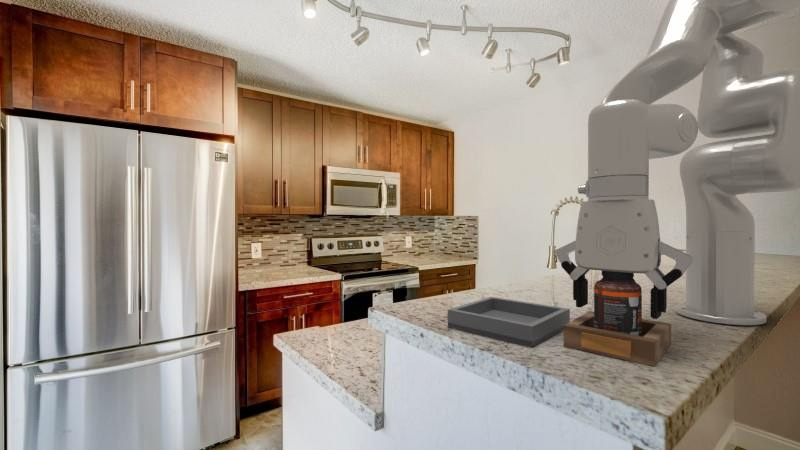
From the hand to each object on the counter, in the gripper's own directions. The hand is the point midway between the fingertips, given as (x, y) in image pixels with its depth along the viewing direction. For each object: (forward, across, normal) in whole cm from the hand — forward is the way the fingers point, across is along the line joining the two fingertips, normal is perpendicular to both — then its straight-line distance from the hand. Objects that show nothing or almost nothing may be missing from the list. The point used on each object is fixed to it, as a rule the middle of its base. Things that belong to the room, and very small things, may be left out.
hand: (616, 310), depth 55 cm
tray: (+5, -16, -2) cm, 17 cm away
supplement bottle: (+5, 0, 0) cm, 5 cm away
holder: (+5, 0, 0) cm, 5 cm away
